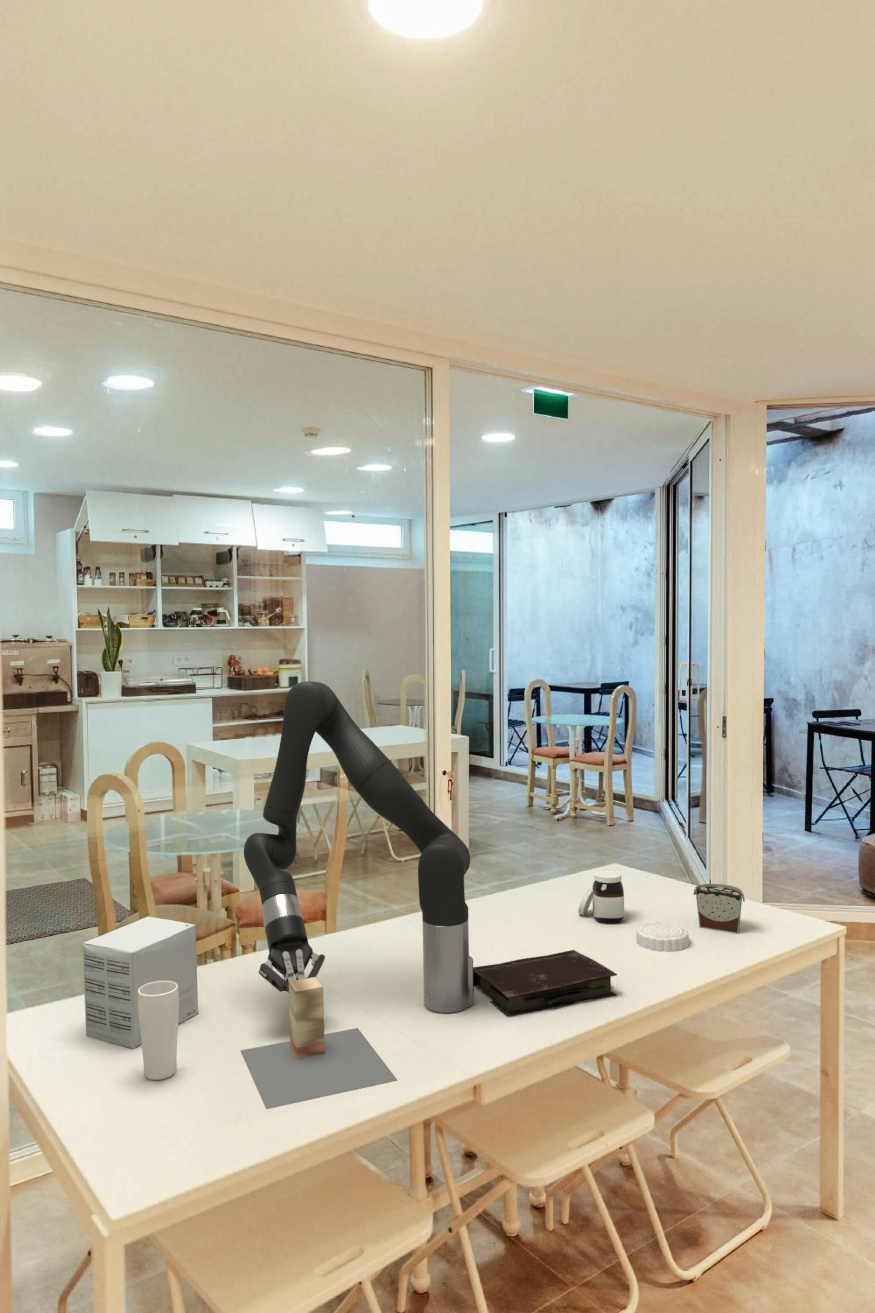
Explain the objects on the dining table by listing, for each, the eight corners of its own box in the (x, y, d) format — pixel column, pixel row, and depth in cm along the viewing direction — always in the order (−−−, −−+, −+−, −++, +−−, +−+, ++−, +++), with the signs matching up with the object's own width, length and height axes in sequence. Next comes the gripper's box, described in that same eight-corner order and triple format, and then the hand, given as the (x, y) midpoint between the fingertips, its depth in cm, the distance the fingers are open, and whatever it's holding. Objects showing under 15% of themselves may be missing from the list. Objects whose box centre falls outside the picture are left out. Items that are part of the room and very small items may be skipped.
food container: (750, 927, 229) (750, 887, 228) (744, 934, 223) (744, 893, 223) (700, 919, 235) (700, 880, 235) (693, 926, 230) (693, 886, 230)
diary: (469, 988, 196) (469, 965, 196) (572, 969, 205) (572, 947, 205) (509, 1021, 178) (508, 995, 178) (619, 999, 188) (619, 974, 188)
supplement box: (150, 1002, 190) (147, 915, 189) (200, 1014, 183) (197, 924, 183) (82, 1036, 174) (79, 941, 174) (134, 1050, 168) (131, 952, 168)
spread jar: (627, 925, 232) (626, 879, 232) (581, 926, 232) (581, 880, 232) (618, 910, 244) (617, 866, 244) (575, 911, 244) (574, 867, 244)
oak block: (317, 1042, 169) (315, 977, 169) (324, 1053, 164) (323, 986, 164) (290, 1047, 167) (288, 981, 167) (296, 1059, 162) (295, 991, 162)
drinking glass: (158, 1087, 154) (156, 998, 154) (131, 1077, 158) (128, 991, 157) (189, 1070, 160) (186, 985, 160) (162, 1061, 164) (159, 977, 163)
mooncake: (699, 945, 217) (699, 930, 217) (664, 956, 211) (664, 941, 211) (660, 932, 227) (660, 917, 227) (625, 942, 220) (625, 927, 220)
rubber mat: (357, 1030, 175) (357, 1028, 175) (397, 1083, 154) (397, 1080, 154) (240, 1053, 166) (240, 1050, 166) (266, 1112, 146) (266, 1109, 146)
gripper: (252, 918, 175) (267, 1007, 164) (320, 909, 180) (339, 994, 169) (247, 938, 180) (262, 1024, 169) (314, 928, 185) (332, 1012, 174)
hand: (301, 1009), depth 169 cm, fingers closed
